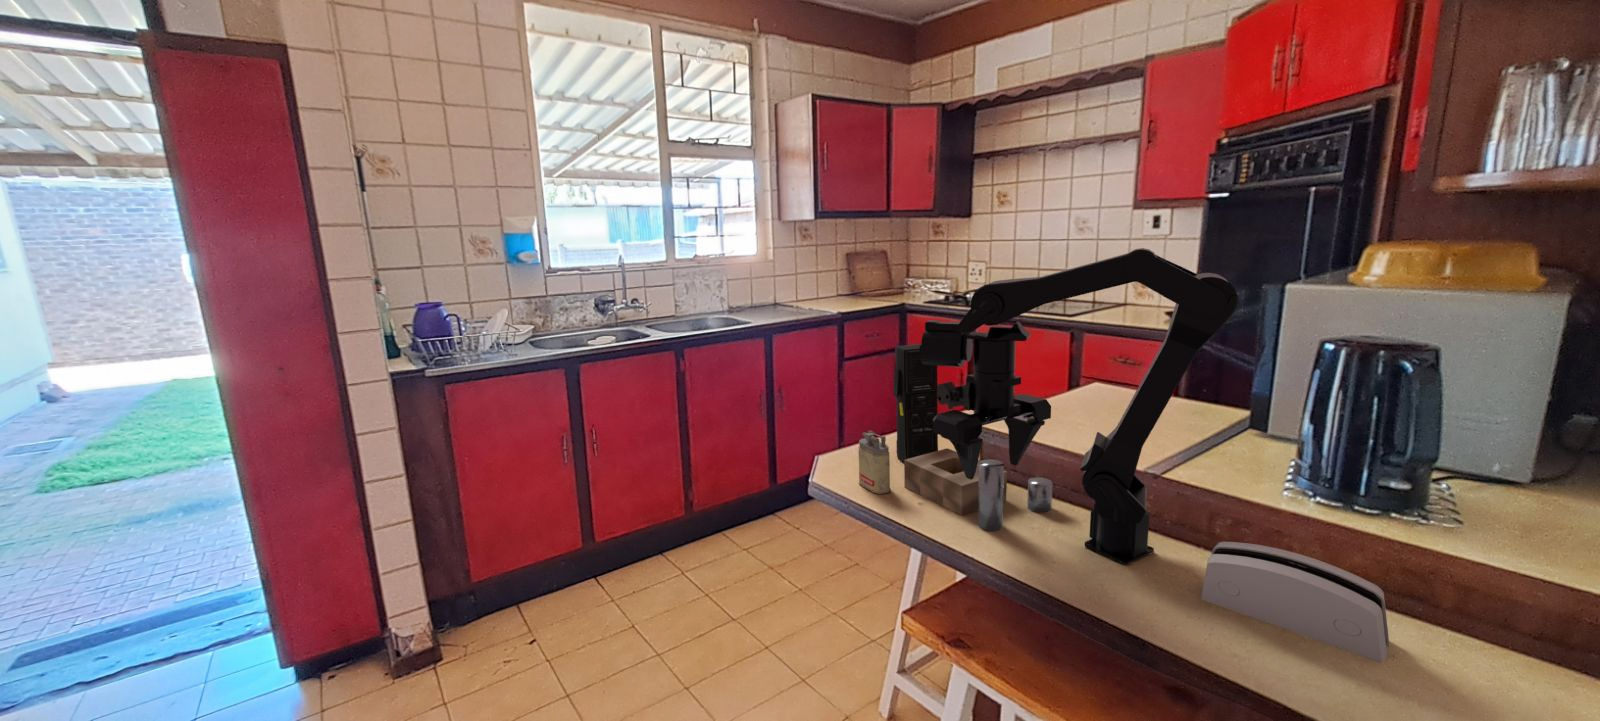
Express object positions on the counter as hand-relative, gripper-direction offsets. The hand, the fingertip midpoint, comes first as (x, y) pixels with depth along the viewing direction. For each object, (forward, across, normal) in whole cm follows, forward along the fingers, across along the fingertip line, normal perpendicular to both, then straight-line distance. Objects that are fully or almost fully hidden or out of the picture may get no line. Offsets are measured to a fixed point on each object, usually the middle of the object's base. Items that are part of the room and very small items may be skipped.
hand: (992, 471), depth 95 cm
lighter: (+9, +5, -22) cm, 24 cm away
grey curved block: (+9, -9, +35) cm, 37 cm away
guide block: (+9, -4, -12) cm, 15 cm away
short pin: (+9, -11, 0) cm, 14 cm away
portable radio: (+9, -9, -28) cm, 31 cm away
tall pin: (+9, 0, 0) cm, 9 cm away
